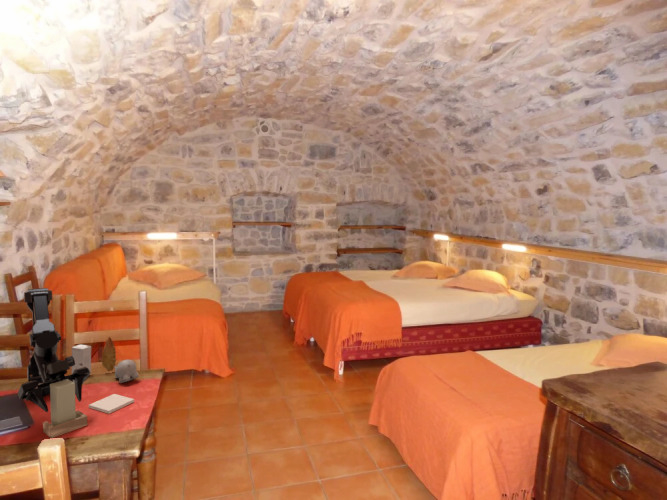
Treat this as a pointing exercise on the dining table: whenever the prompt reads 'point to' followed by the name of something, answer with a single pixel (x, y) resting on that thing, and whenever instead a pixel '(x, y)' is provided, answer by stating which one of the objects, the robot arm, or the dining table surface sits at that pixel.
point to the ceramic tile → (111, 403)
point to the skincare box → (81, 357)
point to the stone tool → (109, 355)
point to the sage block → (62, 402)
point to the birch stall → (65, 425)
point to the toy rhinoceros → (126, 371)
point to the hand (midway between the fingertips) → (64, 406)
